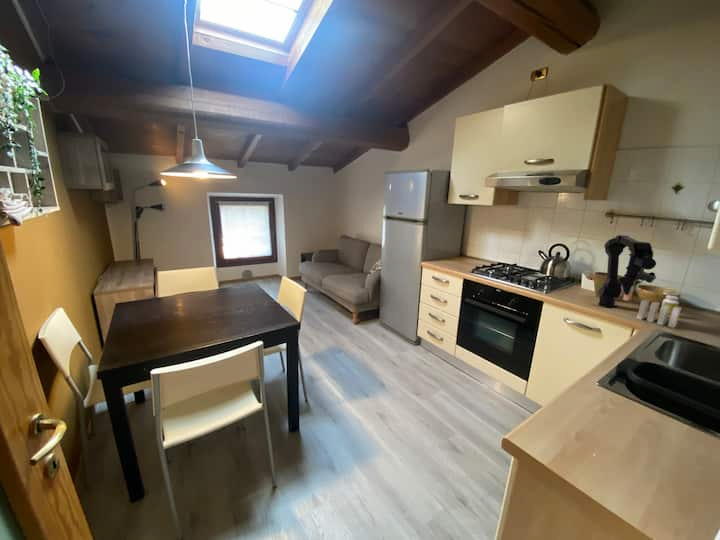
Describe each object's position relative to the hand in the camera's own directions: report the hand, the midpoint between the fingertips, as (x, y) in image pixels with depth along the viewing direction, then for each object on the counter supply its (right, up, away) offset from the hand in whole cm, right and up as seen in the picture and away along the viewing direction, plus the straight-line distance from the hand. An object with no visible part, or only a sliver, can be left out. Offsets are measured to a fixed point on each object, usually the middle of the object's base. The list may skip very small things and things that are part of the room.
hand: (628, 294), depth 156 cm
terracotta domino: (0, -3, +1) cm, 3 cm away
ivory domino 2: (+10, -14, -2) cm, 18 cm away
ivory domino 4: (+15, -16, -8) cm, 23 cm away
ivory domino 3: (+13, -15, -5) cm, 20 cm away
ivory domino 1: (+8, -13, +2) cm, 16 cm away
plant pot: (+17, -6, +36) cm, 40 cm away
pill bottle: (+29, -13, +8) cm, 33 cm away
